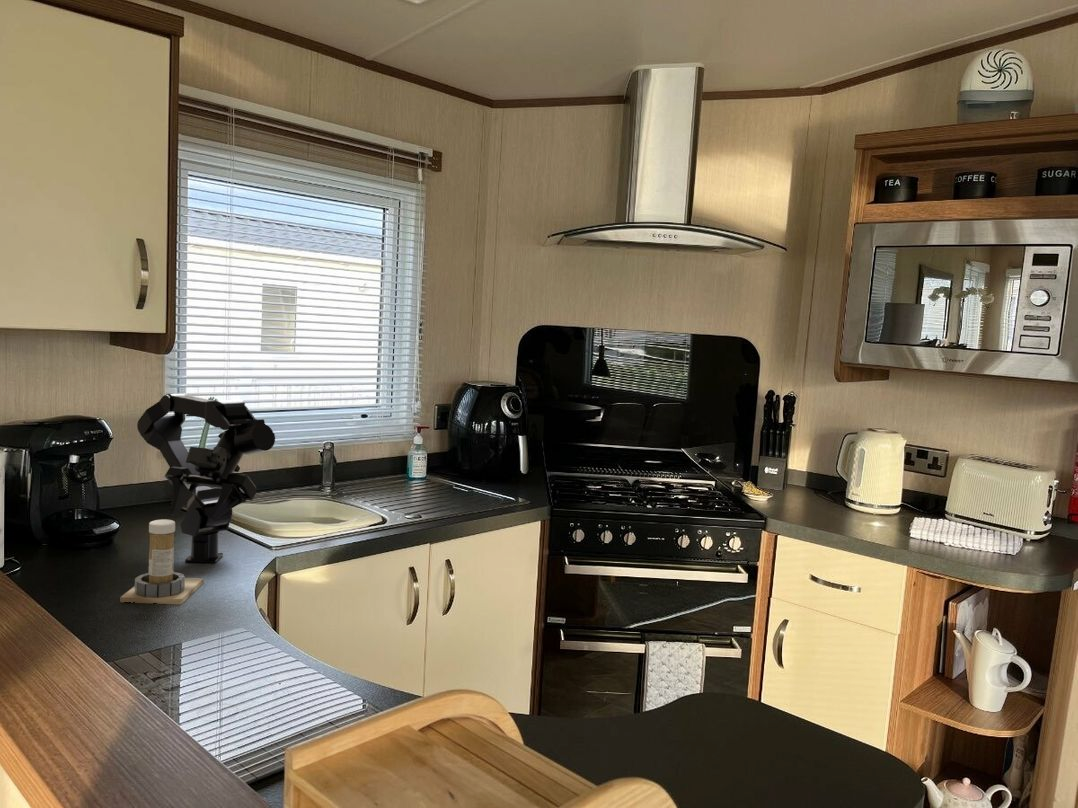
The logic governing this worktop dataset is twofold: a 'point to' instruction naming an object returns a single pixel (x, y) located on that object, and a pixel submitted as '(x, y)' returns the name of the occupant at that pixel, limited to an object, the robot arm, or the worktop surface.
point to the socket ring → (159, 586)
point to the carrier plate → (190, 588)
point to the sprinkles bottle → (161, 551)
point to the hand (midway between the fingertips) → (191, 517)
